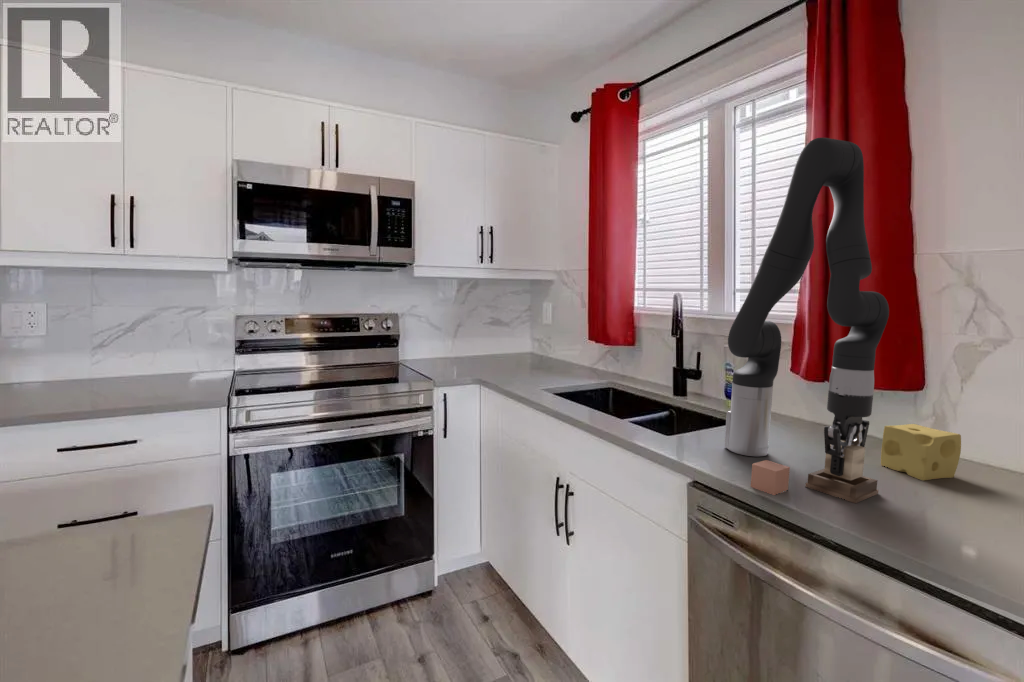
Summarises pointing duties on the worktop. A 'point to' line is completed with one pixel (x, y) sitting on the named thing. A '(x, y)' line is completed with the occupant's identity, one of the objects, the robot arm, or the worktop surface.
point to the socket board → (843, 486)
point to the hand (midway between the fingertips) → (843, 471)
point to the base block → (849, 463)
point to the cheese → (921, 451)
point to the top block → (770, 477)
